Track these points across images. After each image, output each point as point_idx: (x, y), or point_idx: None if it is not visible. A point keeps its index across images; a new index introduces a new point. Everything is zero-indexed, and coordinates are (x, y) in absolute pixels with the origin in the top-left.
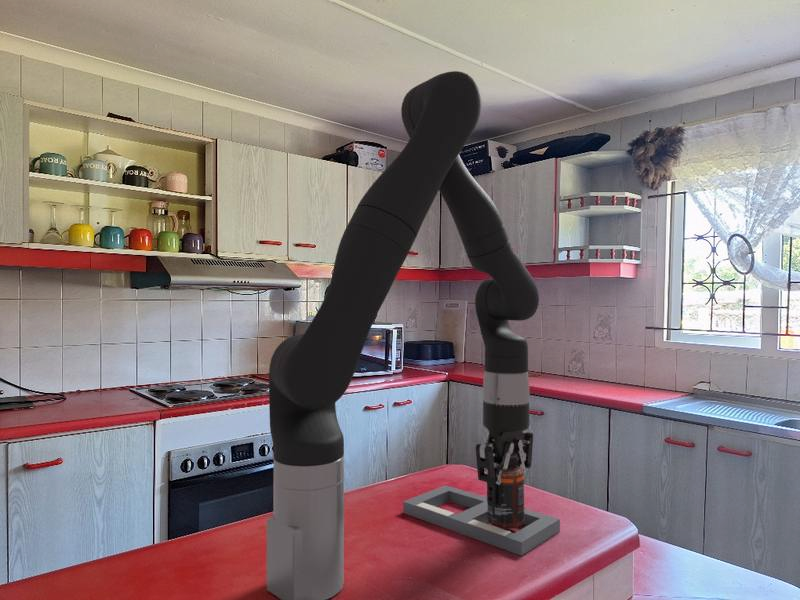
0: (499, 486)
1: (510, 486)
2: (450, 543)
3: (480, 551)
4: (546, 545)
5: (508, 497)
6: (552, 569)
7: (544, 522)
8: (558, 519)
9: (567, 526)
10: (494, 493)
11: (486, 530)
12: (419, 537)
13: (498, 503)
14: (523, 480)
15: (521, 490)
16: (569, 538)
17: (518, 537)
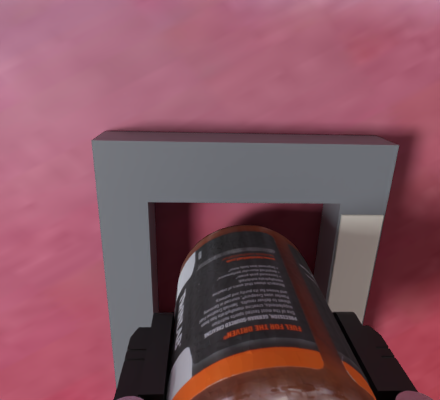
0: (394, 384)
1: (344, 352)
2: (411, 321)
3: (413, 241)
4: (249, 111)
5: (332, 316)
6: (413, 3)
7: (173, 169)
8: (100, 142)
9: (41, 130)
10: (400, 367)
11: (371, 279)
12: (420, 387)
13: (358, 323)
14: (235, 347)
15: (267, 306)
16: (135, 73)
17: (366, 174)
